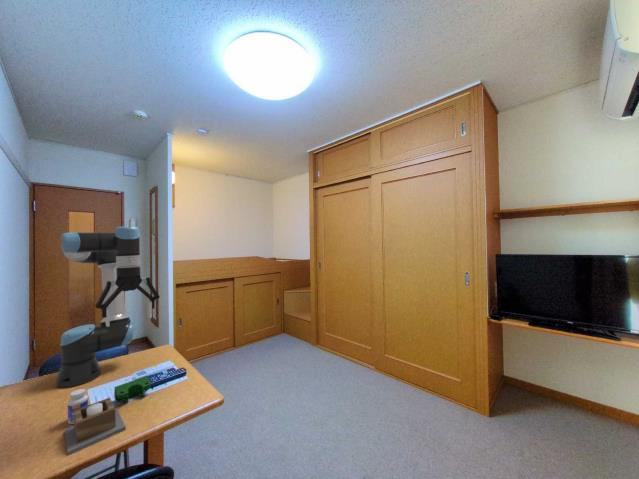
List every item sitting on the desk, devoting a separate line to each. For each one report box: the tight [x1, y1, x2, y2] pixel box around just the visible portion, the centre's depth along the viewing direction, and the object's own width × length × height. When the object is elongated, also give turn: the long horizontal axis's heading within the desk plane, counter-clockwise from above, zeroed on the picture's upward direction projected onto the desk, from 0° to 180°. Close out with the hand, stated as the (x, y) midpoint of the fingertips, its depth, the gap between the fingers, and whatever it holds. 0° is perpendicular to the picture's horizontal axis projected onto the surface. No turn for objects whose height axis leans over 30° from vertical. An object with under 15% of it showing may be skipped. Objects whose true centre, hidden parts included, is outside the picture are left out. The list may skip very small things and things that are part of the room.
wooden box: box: [73, 397, 116, 443], centre depth 88 cm, size 10×10×6 cm
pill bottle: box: [67, 388, 89, 425], centre depth 94 cm, size 5×5×10 cm
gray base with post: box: [64, 402, 127, 456], centre depth 88 cm, size 14×14×8 cm
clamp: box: [113, 375, 152, 404], centre depth 107 cm, size 12×6×9 cm, turn 132°
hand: (129, 321), depth 103 cm, fingers open, 13 cm apart
